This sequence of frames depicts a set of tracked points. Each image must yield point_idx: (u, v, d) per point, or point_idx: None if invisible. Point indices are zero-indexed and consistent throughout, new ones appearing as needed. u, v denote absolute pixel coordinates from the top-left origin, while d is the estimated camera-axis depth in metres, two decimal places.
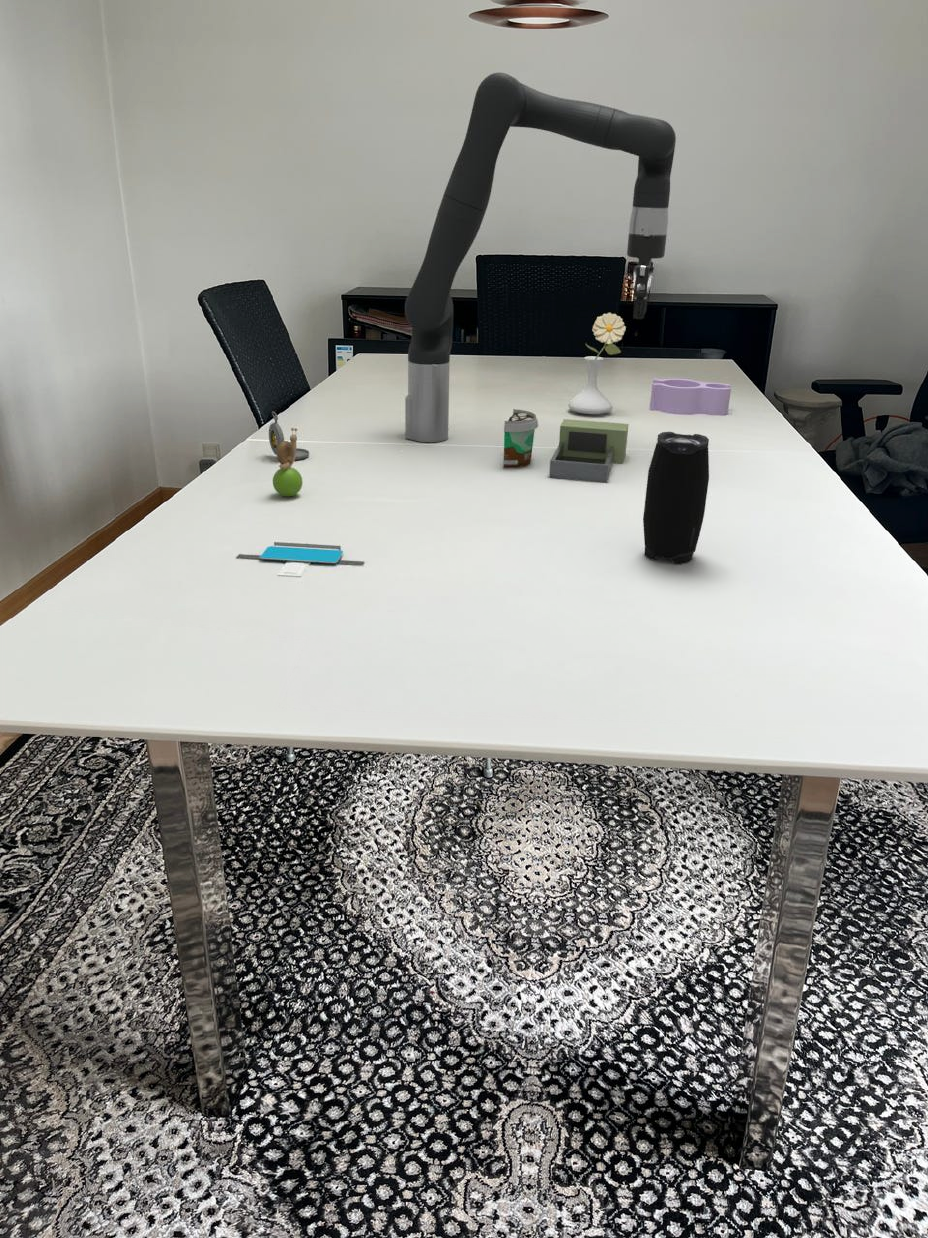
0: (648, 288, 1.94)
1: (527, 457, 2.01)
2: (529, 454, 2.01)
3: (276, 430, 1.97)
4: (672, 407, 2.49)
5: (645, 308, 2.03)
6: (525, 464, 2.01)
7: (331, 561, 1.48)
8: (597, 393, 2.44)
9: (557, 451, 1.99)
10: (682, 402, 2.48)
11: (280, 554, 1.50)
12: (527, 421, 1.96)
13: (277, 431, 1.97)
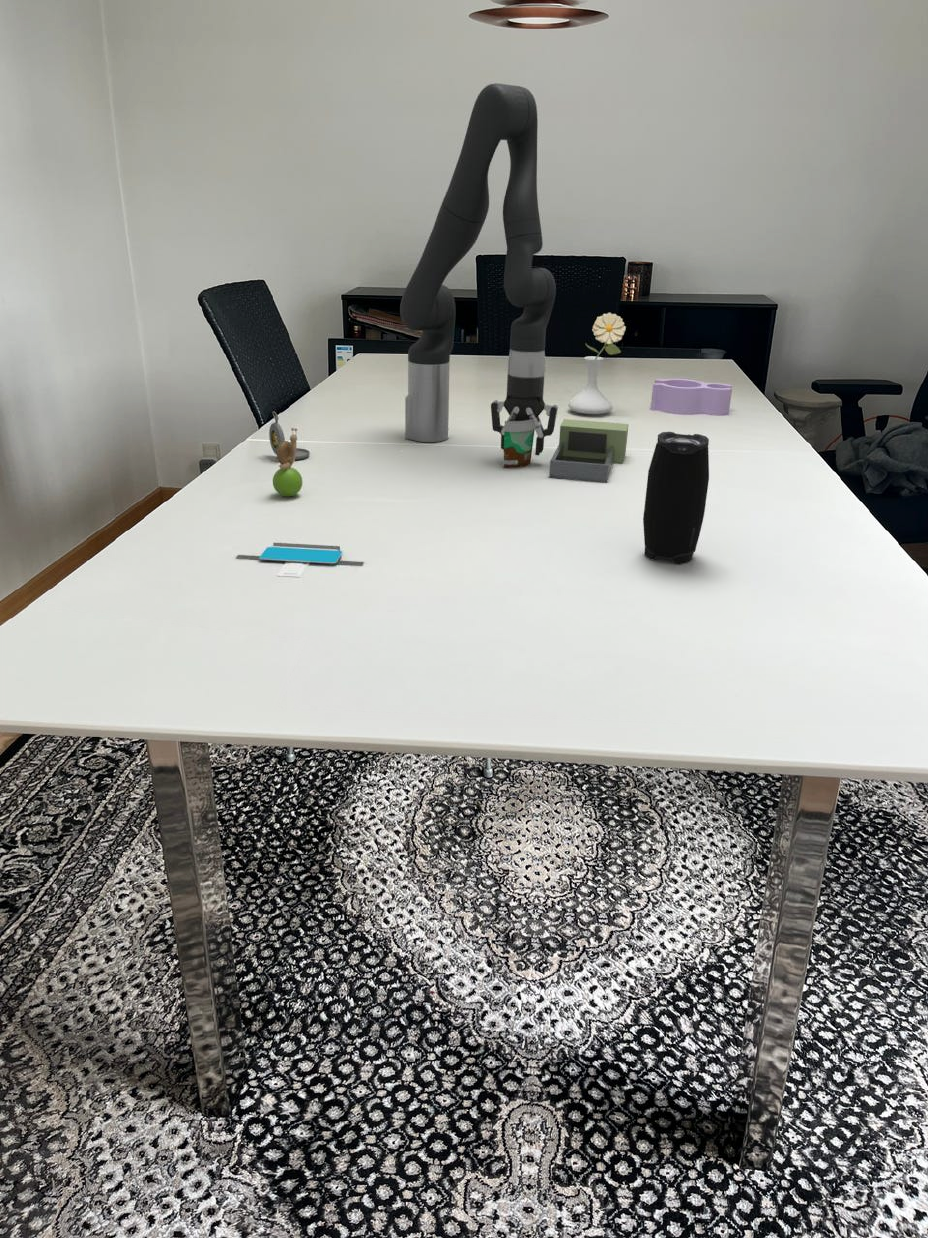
0: None
1: (527, 457, 2.01)
2: (529, 454, 2.01)
3: (277, 430, 1.97)
4: (673, 407, 2.49)
5: None
6: (525, 464, 2.01)
7: (330, 561, 1.48)
8: (597, 393, 2.44)
9: (557, 451, 1.99)
10: (683, 402, 2.47)
11: (279, 555, 1.50)
12: (527, 421, 1.96)
13: (278, 431, 1.97)
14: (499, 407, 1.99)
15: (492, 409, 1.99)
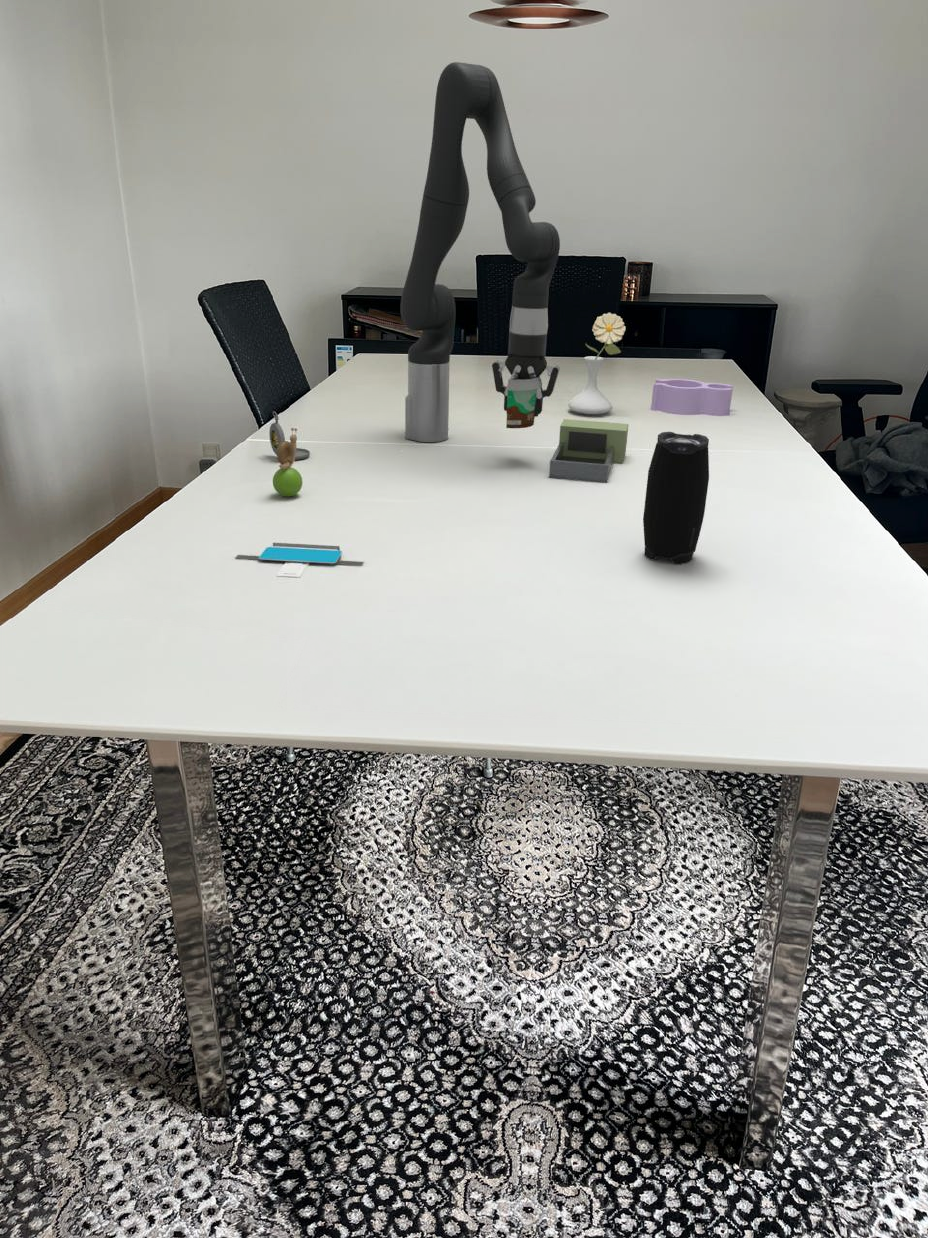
0: None
1: (530, 417, 1.97)
2: (532, 414, 1.97)
3: (277, 430, 1.97)
4: (673, 407, 2.49)
5: None
6: (528, 425, 1.97)
7: (330, 561, 1.48)
8: (597, 393, 2.44)
9: (557, 451, 1.99)
10: (683, 402, 2.47)
11: (279, 555, 1.50)
12: (531, 380, 1.93)
13: (278, 431, 1.97)
14: (501, 367, 1.96)
15: (494, 369, 1.96)
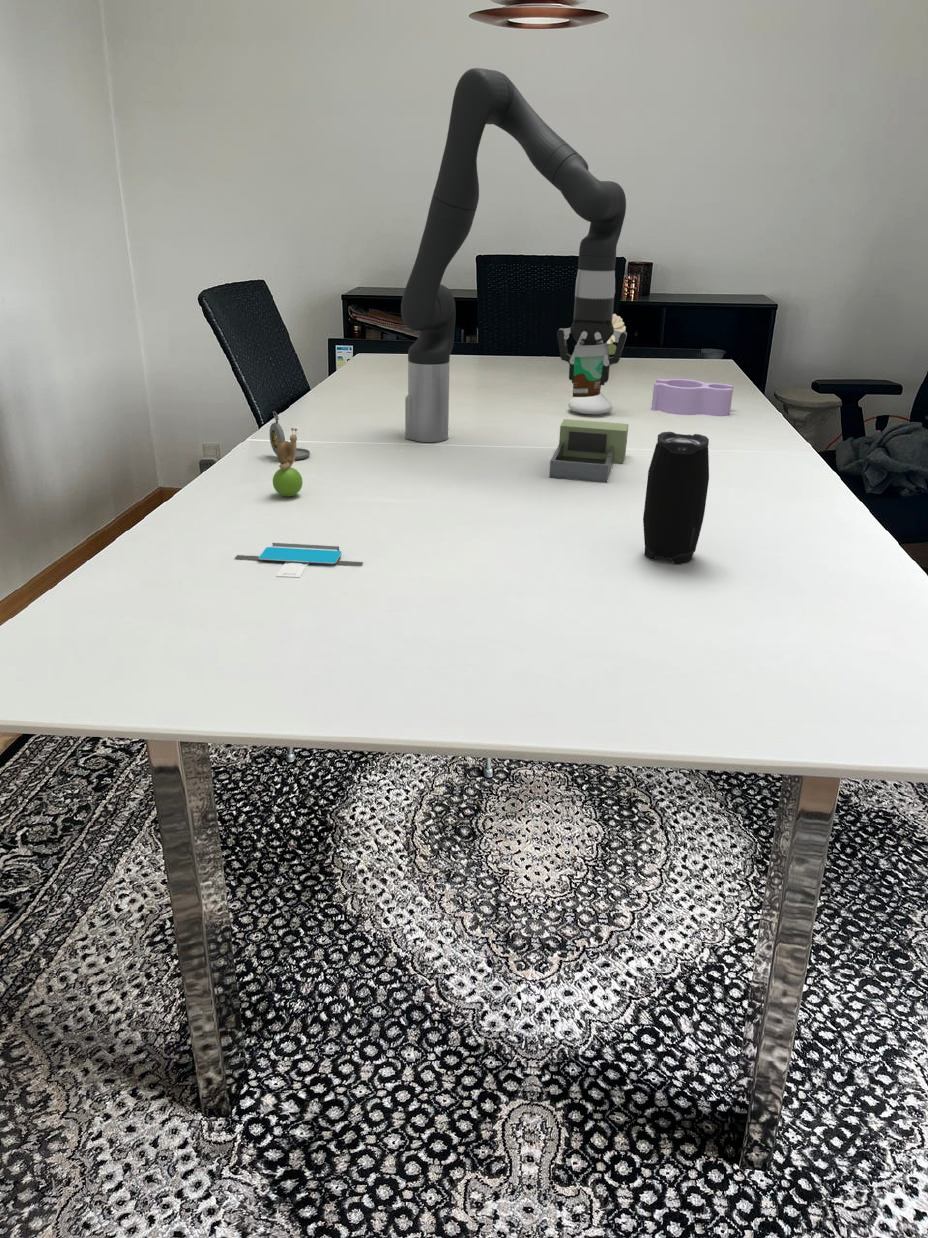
0: None
1: (597, 386, 1.90)
2: (599, 383, 1.90)
3: (277, 430, 1.97)
4: (673, 407, 2.49)
5: None
6: (595, 393, 1.91)
7: (330, 562, 1.48)
8: None
9: (557, 451, 1.99)
10: (683, 402, 2.47)
11: (279, 555, 1.50)
12: (598, 346, 1.86)
13: (278, 431, 1.97)
14: (566, 334, 1.89)
15: (558, 337, 1.89)
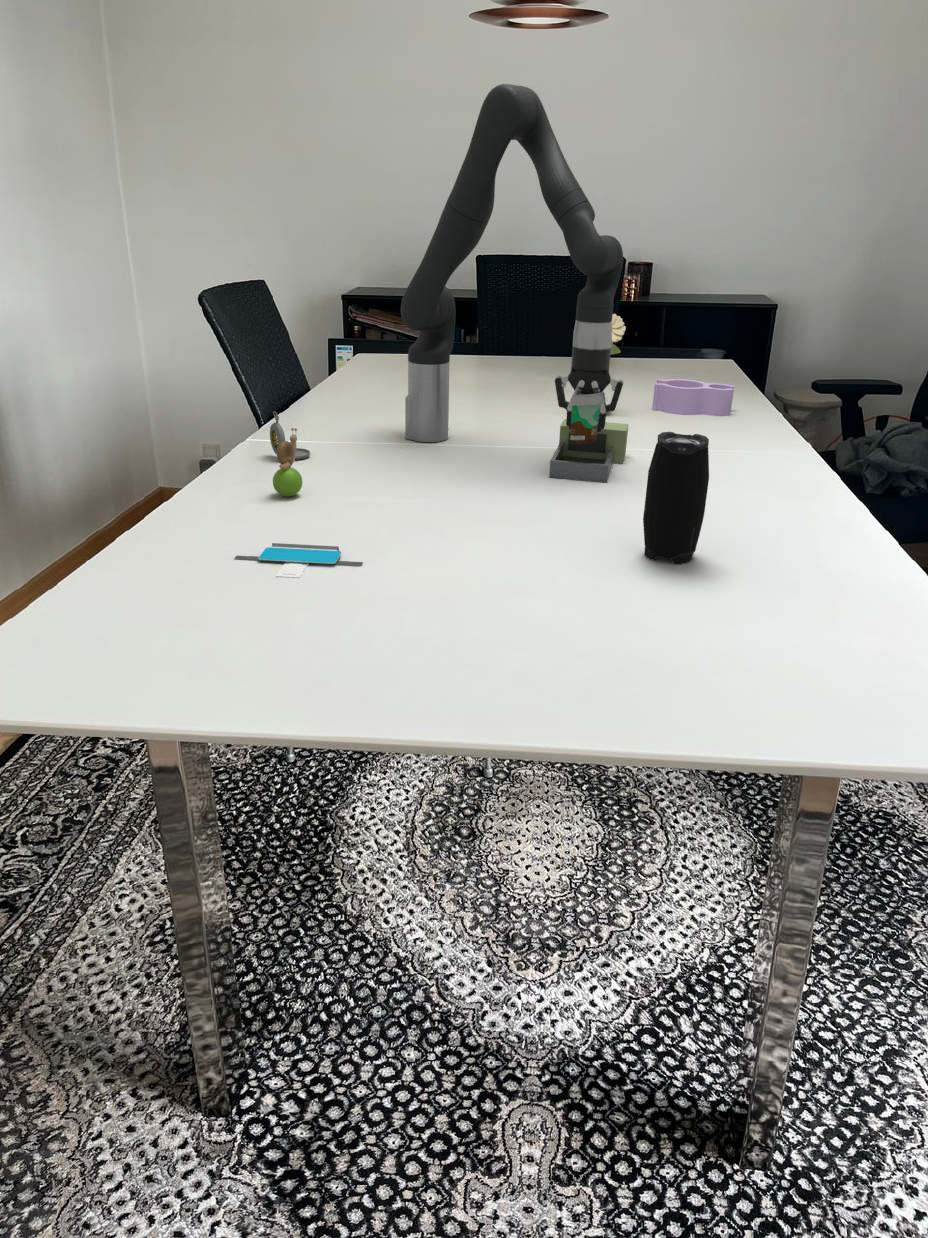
0: None
1: (594, 432, 1.94)
2: (596, 429, 1.95)
3: (277, 430, 1.97)
4: (674, 407, 2.49)
5: None
6: (592, 440, 1.95)
7: (329, 562, 1.48)
8: None
9: (557, 451, 1.99)
10: (684, 402, 2.47)
11: (278, 555, 1.50)
12: (595, 394, 1.90)
13: (278, 431, 1.97)
14: (563, 382, 1.93)
15: (556, 385, 1.93)
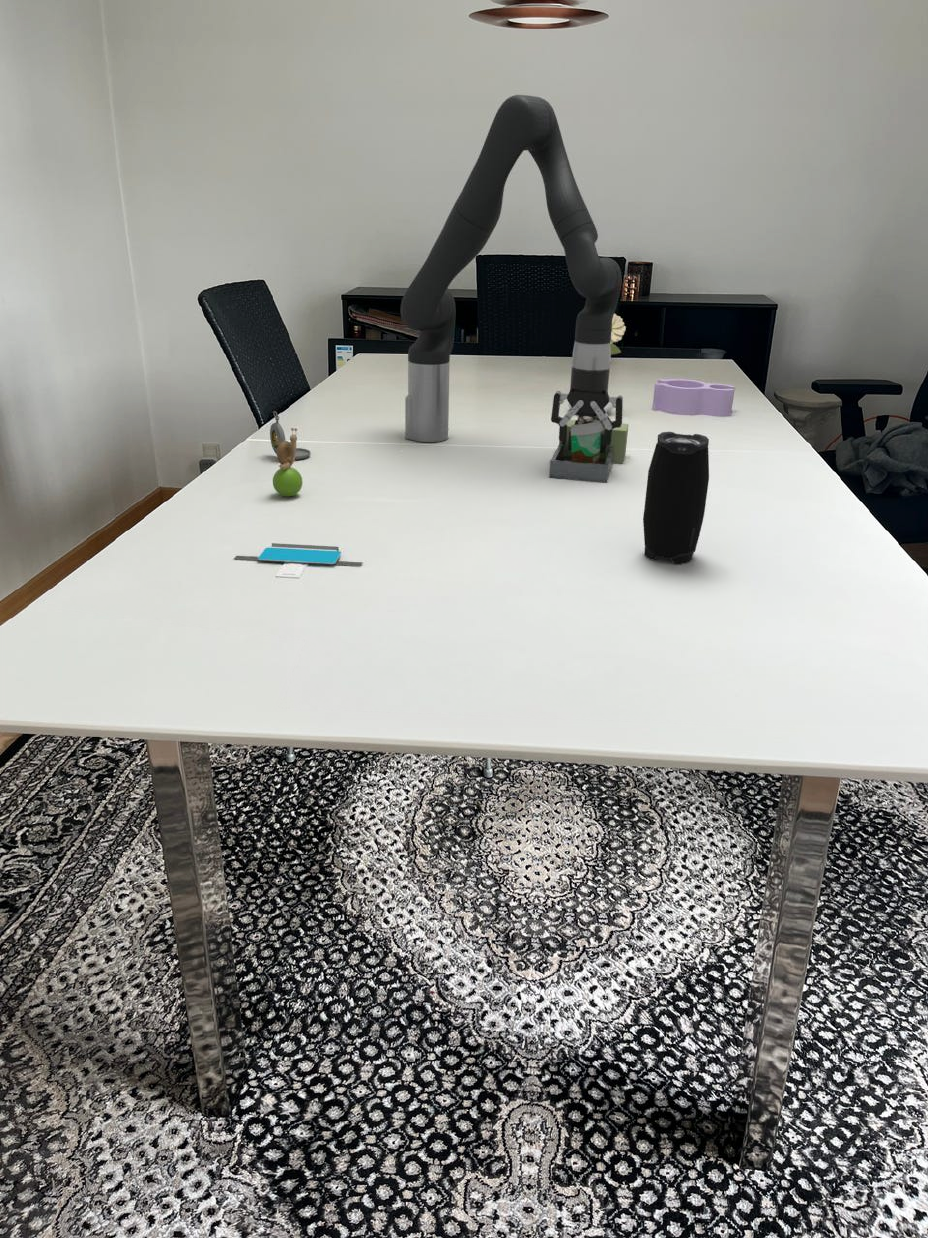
0: None
1: (596, 460, 1.97)
2: (597, 457, 1.97)
3: (277, 430, 1.97)
4: (674, 407, 2.48)
5: None
6: None
7: (329, 562, 1.48)
8: None
9: (557, 451, 1.99)
10: (683, 402, 2.47)
11: (278, 555, 1.50)
12: (594, 423, 1.92)
13: (278, 431, 1.97)
14: (562, 399, 1.95)
15: (554, 400, 1.94)
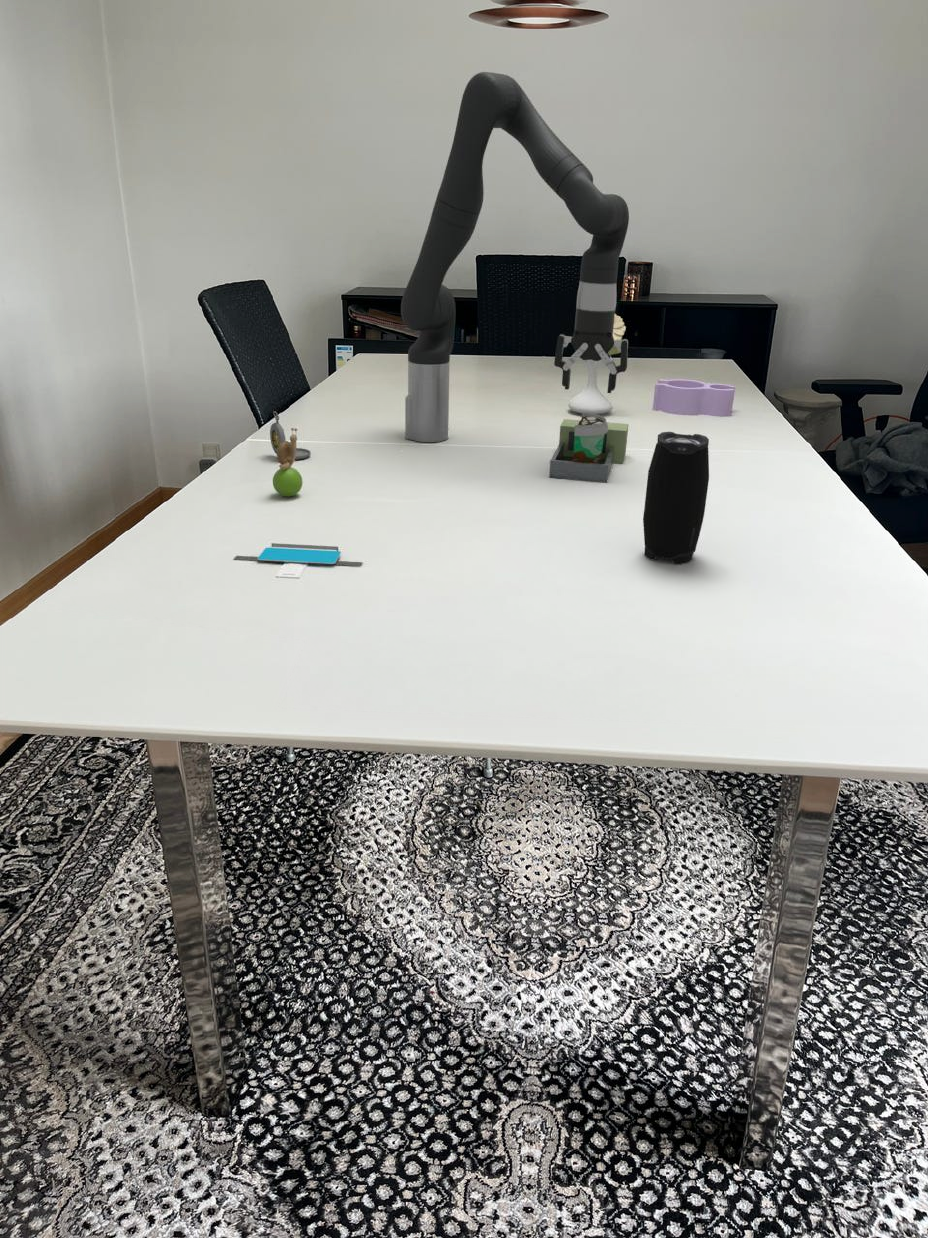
0: None
1: (596, 462, 1.97)
2: (598, 459, 1.97)
3: (277, 430, 1.97)
4: (674, 407, 2.48)
5: (569, 382, 1.94)
6: None
7: (329, 562, 1.48)
8: (597, 393, 2.44)
9: (557, 451, 1.99)
10: (684, 403, 2.47)
11: (278, 555, 1.50)
12: (598, 425, 1.92)
13: (279, 431, 1.97)
14: (565, 342, 1.90)
15: (558, 342, 1.90)
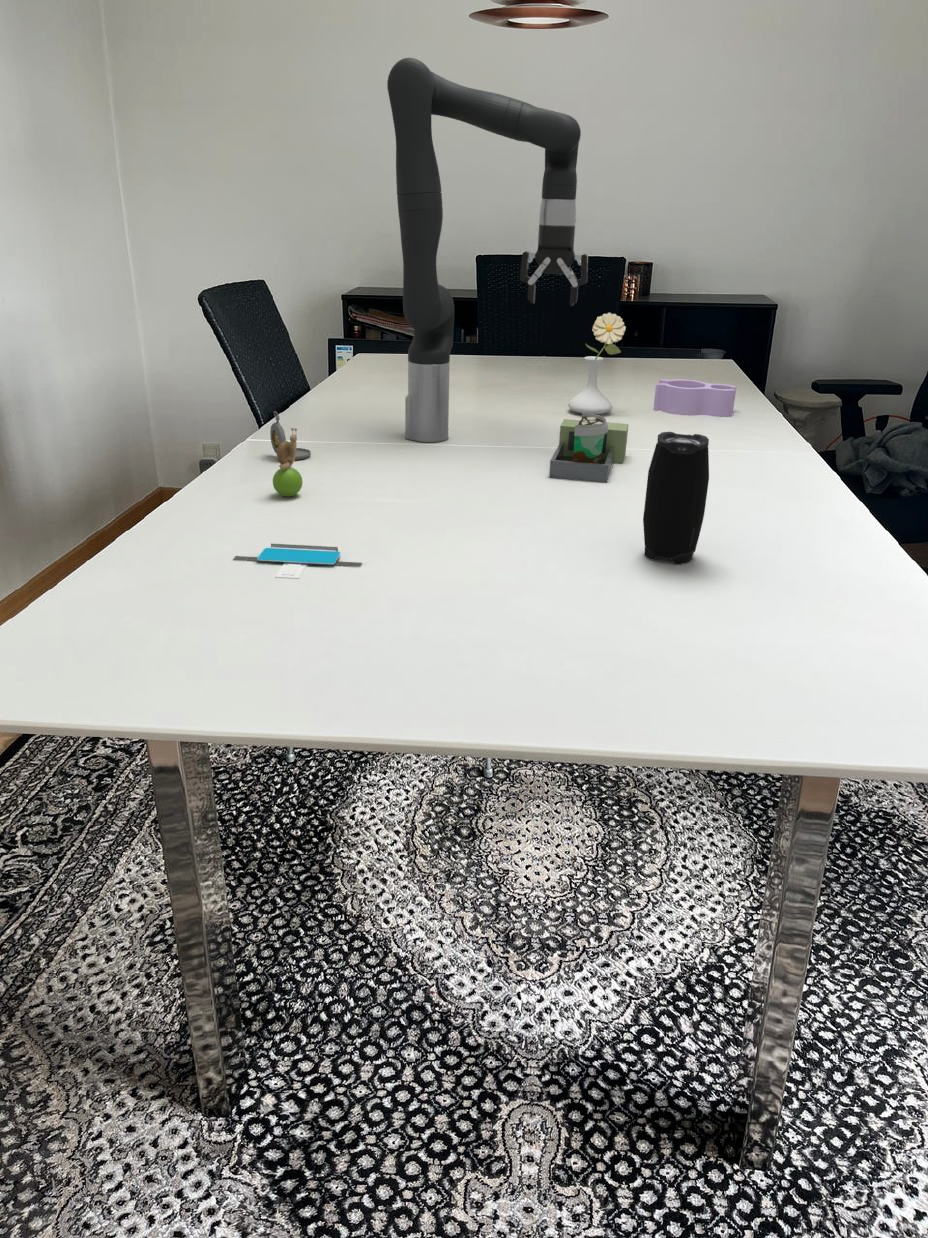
0: None
1: (596, 462, 1.97)
2: (598, 459, 1.97)
3: (278, 430, 1.97)
4: (675, 407, 2.48)
5: None
6: None
7: (329, 562, 1.48)
8: (597, 393, 2.44)
9: (557, 451, 1.99)
10: (685, 403, 2.47)
11: (277, 556, 1.50)
12: (598, 425, 1.92)
13: (279, 431, 1.97)
14: (530, 257, 2.04)
15: (523, 258, 2.04)
